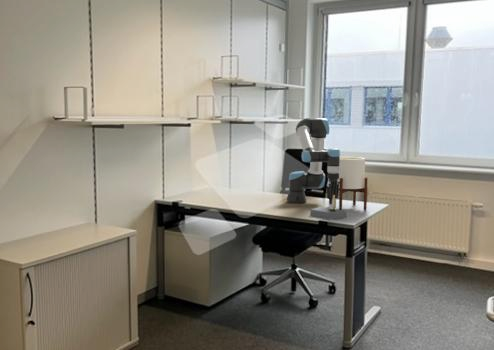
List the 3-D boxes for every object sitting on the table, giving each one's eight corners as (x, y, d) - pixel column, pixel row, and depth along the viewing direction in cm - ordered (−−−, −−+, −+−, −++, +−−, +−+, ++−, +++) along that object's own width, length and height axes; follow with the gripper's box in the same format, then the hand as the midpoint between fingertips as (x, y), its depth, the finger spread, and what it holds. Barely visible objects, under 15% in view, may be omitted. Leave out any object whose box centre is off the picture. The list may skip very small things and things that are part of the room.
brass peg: (328, 216, 316) (329, 194, 315) (331, 215, 319) (331, 194, 317) (333, 216, 314) (333, 195, 313) (335, 216, 317) (335, 194, 315)
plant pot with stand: (369, 210, 340) (370, 159, 335) (338, 211, 335) (340, 159, 331) (355, 204, 361) (357, 156, 357) (327, 205, 357) (328, 156, 352)
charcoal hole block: (310, 215, 320) (310, 209, 320) (320, 212, 329) (320, 207, 329) (337, 219, 308) (337, 213, 307) (346, 216, 317) (346, 210, 316)
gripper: (332, 174, 305) (331, 211, 307) (344, 171, 317) (343, 207, 320) (321, 173, 309) (320, 209, 312) (334, 171, 321) (333, 206, 324)
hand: (332, 208), depth 316 cm, fingers closed on brass peg, 3 cm apart
